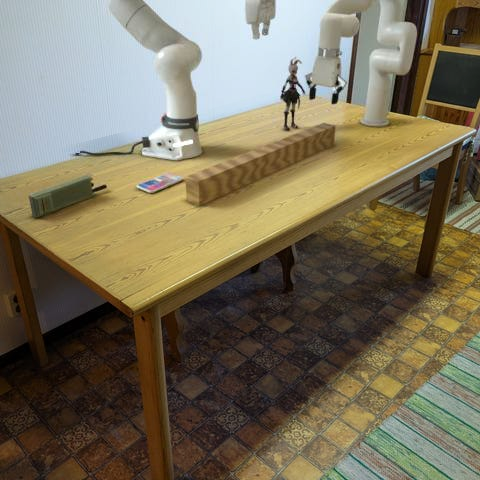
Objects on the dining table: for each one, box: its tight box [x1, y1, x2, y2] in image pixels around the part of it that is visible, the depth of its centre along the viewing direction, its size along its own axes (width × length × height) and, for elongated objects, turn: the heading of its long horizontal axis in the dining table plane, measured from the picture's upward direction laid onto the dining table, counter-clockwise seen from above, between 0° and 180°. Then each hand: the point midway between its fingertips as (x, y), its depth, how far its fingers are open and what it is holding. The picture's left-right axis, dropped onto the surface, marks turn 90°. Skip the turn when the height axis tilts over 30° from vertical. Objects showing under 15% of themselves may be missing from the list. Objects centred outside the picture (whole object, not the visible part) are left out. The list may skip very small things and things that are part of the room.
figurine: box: [279, 56, 306, 132], centre depth 211 cm, size 15×6×30 cm, turn 132°
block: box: [184, 122, 336, 207], centre depth 175 cm, size 75×6×8 cm, turn 139°
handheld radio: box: [28, 173, 108, 219], centre depth 150 cm, size 7×3×25 cm
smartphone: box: [136, 172, 184, 194], centre depth 164 cm, size 7×1×15 cm
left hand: (260, 37), depth 161 cm, fingers open, 8 cm apart
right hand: (323, 101), depth 189 cm, fingers open, 9 cm apart
